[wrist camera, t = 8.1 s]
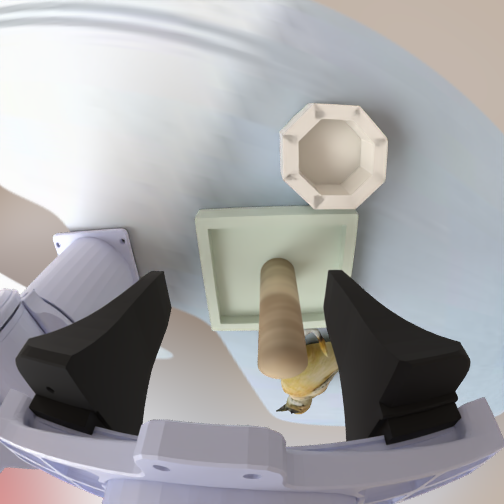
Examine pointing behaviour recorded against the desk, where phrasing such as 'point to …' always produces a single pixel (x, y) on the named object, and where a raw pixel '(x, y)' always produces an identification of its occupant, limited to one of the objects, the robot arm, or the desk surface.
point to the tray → (270, 257)
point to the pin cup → (333, 155)
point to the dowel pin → (280, 322)
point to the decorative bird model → (310, 376)
